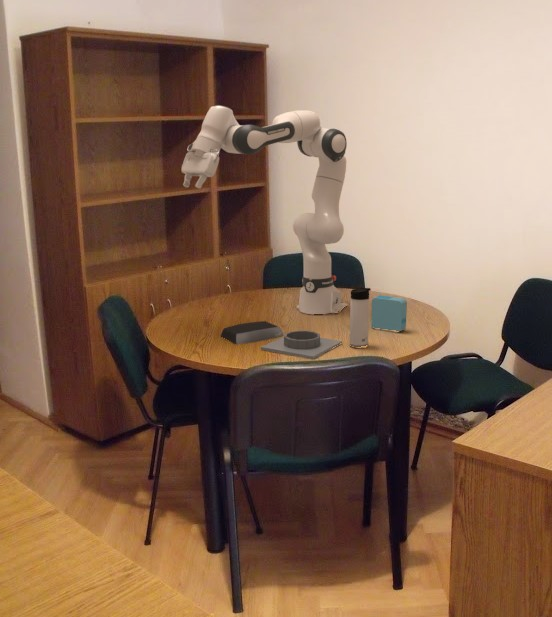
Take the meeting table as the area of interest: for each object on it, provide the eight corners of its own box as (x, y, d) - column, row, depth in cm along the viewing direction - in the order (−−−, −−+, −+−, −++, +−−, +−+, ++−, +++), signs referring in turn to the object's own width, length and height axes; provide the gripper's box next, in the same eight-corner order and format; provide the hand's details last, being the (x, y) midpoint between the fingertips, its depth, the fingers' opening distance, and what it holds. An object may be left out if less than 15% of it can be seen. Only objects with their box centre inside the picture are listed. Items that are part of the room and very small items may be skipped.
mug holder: (292, 335, 256) (292, 324, 255) (342, 343, 246) (342, 332, 245) (261, 349, 240) (260, 338, 239) (313, 359, 229) (313, 347, 228)
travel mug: (368, 349, 240) (369, 290, 235) (348, 348, 241) (349, 289, 236) (369, 343, 246) (371, 286, 241) (350, 342, 247) (351, 285, 242)
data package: (406, 330, 262) (407, 298, 259) (400, 333, 258) (402, 301, 255) (376, 326, 268) (377, 294, 265) (370, 328, 265) (371, 296, 262)
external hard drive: (284, 337, 256) (284, 326, 255) (237, 346, 246) (237, 335, 245) (265, 329, 266) (265, 318, 265) (219, 337, 256) (219, 326, 255)
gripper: (227, 153, 240) (212, 192, 240) (201, 153, 257) (186, 189, 257) (212, 145, 237) (196, 184, 236) (186, 146, 254) (171, 182, 253)
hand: (191, 187), depth 247 cm, fingers open, 8 cm apart
